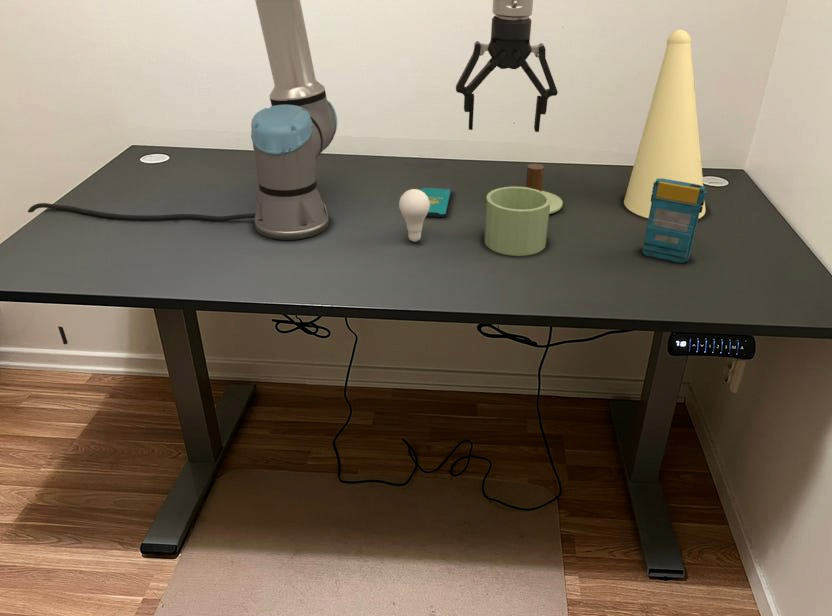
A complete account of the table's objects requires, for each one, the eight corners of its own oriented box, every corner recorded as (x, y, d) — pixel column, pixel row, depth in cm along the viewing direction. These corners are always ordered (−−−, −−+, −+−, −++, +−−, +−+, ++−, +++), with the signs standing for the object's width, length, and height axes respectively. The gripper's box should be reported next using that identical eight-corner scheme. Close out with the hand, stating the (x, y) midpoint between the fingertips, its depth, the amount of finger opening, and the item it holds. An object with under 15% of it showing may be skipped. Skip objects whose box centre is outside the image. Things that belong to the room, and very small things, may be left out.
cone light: (715, 223, 158) (756, 53, 138) (631, 220, 158) (660, 50, 138) (688, 182, 178) (721, 28, 158) (614, 180, 179) (637, 26, 159)
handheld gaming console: (691, 257, 144) (708, 185, 135) (687, 266, 141) (704, 193, 132) (642, 247, 147) (656, 176, 139) (638, 255, 144) (651, 183, 136)
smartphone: (451, 188, 169) (445, 213, 157) (451, 191, 170) (445, 217, 157) (420, 187, 170) (412, 212, 157) (420, 190, 170) (412, 216, 158)
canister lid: (497, 214, 160) (500, 174, 155) (507, 191, 171) (509, 153, 166) (559, 220, 158) (563, 180, 152) (564, 197, 169) (569, 159, 163)
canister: (479, 251, 144) (481, 207, 139) (490, 226, 154) (492, 183, 149) (542, 259, 142) (546, 213, 137) (548, 232, 152) (553, 189, 147)
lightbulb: (435, 239, 148) (435, 188, 142) (418, 250, 144) (418, 198, 138) (410, 232, 151) (410, 182, 145) (393, 243, 147) (392, 191, 141)
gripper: (446, 17, 133) (442, 132, 145) (580, 22, 134) (566, 136, 146) (446, 10, 139) (443, 121, 152) (574, 15, 140) (561, 125, 152)
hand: (503, 129), depth 149 cm, fingers open, 13 cm apart
